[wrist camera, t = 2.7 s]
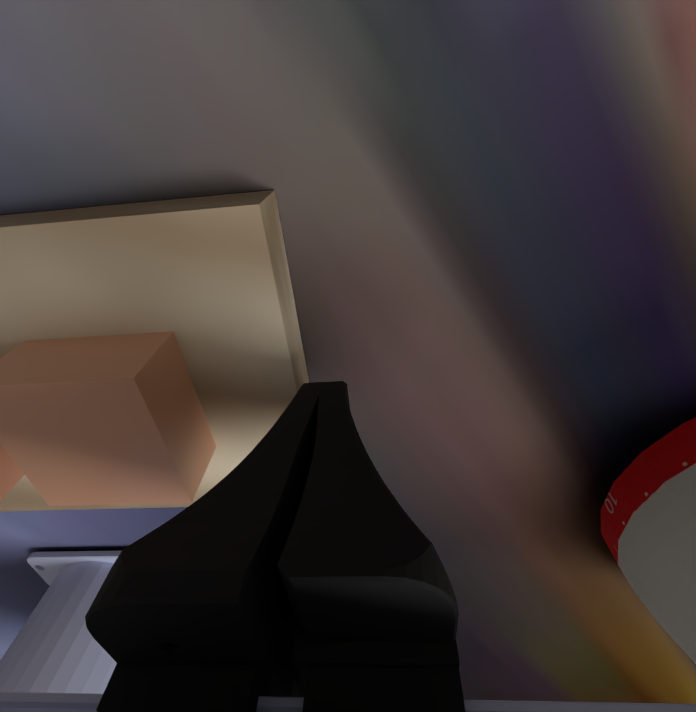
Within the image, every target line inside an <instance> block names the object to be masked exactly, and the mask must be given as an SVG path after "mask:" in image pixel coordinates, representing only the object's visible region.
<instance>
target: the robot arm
mask: <svg viewBox="0 0 696 712" xmlns="http://www.w3.org/2000/svg"><path fill="white" fill-rule="evenodd" d="M27 562H28V564H29V565H30V566H31V567H32V568H33V569H34V570H35V571H36V572H37V573H38V574H39V575H40V576H41V578H42V579H43V580H44V581H45V582H46V583H47V584H48V585H49V588H48V589H47V591H46V592H45V594H44V595H43V597H42V598H41V600H40V601H39V603H38V604H37V606H36V607H35V609H34V610H33V612H32V613H31V615H30V616H29V618H28V620H27V621H26V623H25V624H24V626H23V627H22V629H21V630H20V632H19V633H18V635H17V636H16V638H15V639H14V641H13V642H12V644H11V645H10V647H9V648H8V650H7V651H6V653H5V654H4V656H3V657H2V659H1V660H0V712H696V704H671V703H613V702H555V701H497V700H464V698H463V692H462V686H461V680H460V674H459V668H458V667H459V656H458V650H457V644H456V632H457V623H458V605H457V601H456V598H455V594H454V591H453V588H452V585H451V583H450V580H449V578H448V575H447V573H446V571H445V569H444V567H443V565H442V562H441V560H440V558H439V556H438V554H437V552H436V550H435V548H434V546H433V544H432V543H431V542H430V541H429V540H428V539H427V537H426V536H425V535H424V534H423V533H422V532H421V531H420V529H419V528H418V527H417V526H416V525H415V524H414V522H413V521H412V520H411V519H410V517H409V516H408V515H407V514H406V512H405V511H404V510H403V509H402V507H401V506H400V505H399V503H398V502H397V500H396V499H395V498H394V496H393V495H392V493H391V492H390V490H389V489H388V487H387V486H386V485H385V483H384V482H383V480H382V478H381V477H380V475H379V473H378V472H377V470H376V468H375V467H374V465H373V463H372V461H371V459H370V458H369V456H368V454H367V452H366V450H365V448H364V445H363V443H362V441H361V439H360V437H359V434H358V432H357V429H356V427H355V424H354V421H353V418H352V415H351V412H350V407H349V398H348V389H347V384H346V383H345V382H343V381H336V382H316V383H304V384H303V385H302V386H301V387H300V389H299V390H298V392H297V393H296V395H295V396H294V398H293V399H292V401H291V402H290V403H289V405H288V406H287V408H286V409H285V410H284V412H283V413H282V414H281V416H280V417H279V418H278V420H277V421H276V422H275V424H274V425H273V426H272V428H271V429H270V430H269V431H268V432H267V434H266V435H265V436H264V437H263V438H262V439H261V441H260V442H259V443H258V444H257V445H256V447H255V448H254V449H253V450H252V451H251V452H250V453H249V454H248V455H247V456H246V457H245V458H244V459H243V460H242V461H241V462H240V463H239V464H238V465H237V466H236V467H235V468H234V469H233V470H232V471H231V472H230V473H229V474H228V475H227V476H226V477H225V478H223V479H222V480H221V481H220V482H219V483H217V484H216V485H215V486H214V487H213V488H212V489H210V490H209V491H208V492H207V493H206V494H204V495H203V496H202V497H201V498H199V499H198V500H197V501H195V502H194V503H193V504H191V505H190V506H189V507H187V508H186V509H185V510H183V511H182V512H180V513H179V514H178V515H176V516H175V517H173V518H172V519H170V520H169V521H167V522H166V523H164V524H163V525H161V526H160V527H158V528H157V529H155V530H153V531H152V532H150V533H149V534H147V535H145V536H144V537H142V538H141V539H139V540H137V541H136V542H134V543H133V544H131V545H129V546H128V547H126V548H124V549H123V550H121V551H54V552H32V553H31V554H30V555H29V557H28V558H27Z"/></svg>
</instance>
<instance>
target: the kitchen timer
mask: <svg viewBox="0 0 696 712" xmlns="http://www.w3.org/2000/svg"><path fill="white" fill-rule="evenodd" d="M601 535H602V536H603V538H604V540H605V542H606V544H607V546H608V547H609V549H610V551H611V553H612V555H613V557H614V558H615V560H616V562H617V564H618V566H619V567H620V569H621V571H622V572H623V574H624V576H625V577H626V579H627V581H628V582H629V584H630V585H631V587H632V588H633V590H634V591H635V593H636V594H637V596H638V597H639V599H640V600H641V601H642V603H643V604H644V605H645V607H646V608H647V609H648V611H649V612H650V613H651V615H652V616H653V617H654V618H655V619H656V620H657V622H658V623H659V624H660V625H661V626H662V627H663V629H664V630H665V631H666V632H667V633H668V634H669V635H670V636H671V637H672V639H673V640H674V641H675V642H676V643H677V644H678V645H679V646H680V647H681V649H682V650H683V651H684V652H685V653H686V654H687V655H688V656H689V657H690V658H691V659H692V660H693V662H694V663H695V664H696V417H695V418H693V419H691V420H689V421H687V422H685V423H683V424H681V425H680V426H678V427H677V428H675V429H674V430H673V431H671V432H670V433H668V434H667V435H665V436H664V437H663V438H661V439H660V440H658V441H657V442H655V443H654V444H652V445H651V446H650V447H648V448H647V449H645V450H644V451H642V452H641V453H640V454H639V455H638V456H637V457H636V458H635V460H634V461H633V462H632V463H631V464H630V465H629V466H628V467H627V468H626V469H625V470H624V471H623V472H622V474H621V475H620V476H619V477H618V478H617V479H616V480H615V481H614V482H613V484H612V487H611V489H610V491H609V493H608V495H607V497H606V499H605V501H604V504H603V506H602V508H601Z"/></svg>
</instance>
